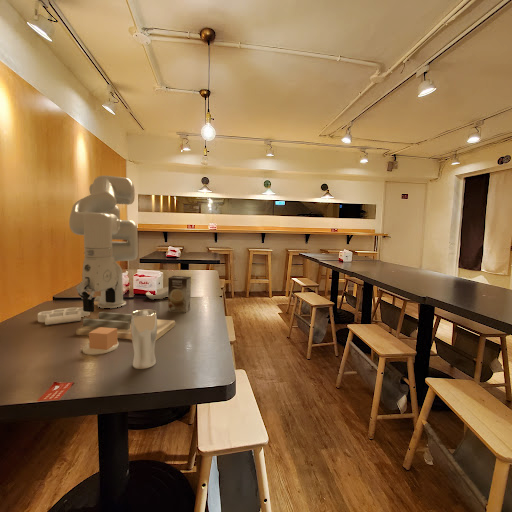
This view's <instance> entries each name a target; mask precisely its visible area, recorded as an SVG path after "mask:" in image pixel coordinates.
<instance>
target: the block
mask: <svg viewBox="0 0 512 512" xmlns="http://www.w3.org/2000/svg"><path fill="white" fill-rule="evenodd" d="M117 341H118V338H117V328H106V327H99V328H97V329H95V330H93V331H91V332H89V336H88V343H89V348H93V349H104V350H108V349H109V348H111V347H112V346H114V345H115V344H117Z"/></svg>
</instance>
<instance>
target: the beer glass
mask: <svg viewBox="0 0 512 512" xmlns="http://www.w3.org/2000/svg"><path fill="white" fill-rule="evenodd" d="M130 314H131V328H130V329H131V338H132V339H131V342H132V347H133V355H134V356H133V359H132V360H133V361H132V367H133V368H134V369H136V370H147V369H150V368H151V367H154V366H155V365H156V363H157V362H156V360H157V359H156V355H155V345H156V341H157V340H156V336H157V319H158V317H157V310H154V309H151V308H150V309H139V310H135V311H132V312H131V313H130Z"/></svg>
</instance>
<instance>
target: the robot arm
mask: <svg viewBox="0 0 512 512" xmlns="http://www.w3.org/2000/svg"><path fill="white" fill-rule="evenodd" d="M135 196H136V193H135V186H134V183H133V181H132V180H131V179H130V178H128V177H126V176H125V177H124V176H123V177H121V176H114V175H99V176H97V177H95V179H94V180H93V183H91V184H90V185H89V195H87V196H85V197H83V198H81V199H79V200H77V201H75V203H74V204H73V205H72V209H71V211H70V216H69V220H68V224H69V225H68V226H69V229H70V231H71V232H72V233H73V234H74V235H77V236H83V247H84V248H83V250H84V252H83V255H84V258H83V262H82V263H83V265H82V274H81V276H82V278H81V279H82V280H81V282H80V283H79V284H78V285H77V286H76V288H75V289H76V291H77V294H78V296H79V297H80V298H81V300H82V307H83V311H86V312H90V313H94V312H95V301H97V302H98V303H97V308H99V307H100V308H99V309H104V308H110V309H117V307H118V308H122V307H125V306H126V305H127V301H126V300H124V295H123V294H124V292H123V290H124V289H123V285H124V283H123V269H122V267H121V265H120V264H119V263H118V262H125V261H126V262H127V261H128V262H130V261H135V260H136V259H137V258H138V256H139V255H138V254H139V250H138V249H139V248H138V247H139V245H138V243H139V241H138V227H137V223H136V222H135V221H134V220H131V219H130V220H129V219H121V213H120V208H119V206H118V205H132V204H133V203H134V201H135ZM115 240H116V241H115ZM118 240H122V241H118ZM124 240H125V241H124ZM96 292H100V295H96V296H95V298H93V297H94V295H95V293H96ZM121 306H122V307H121Z"/></svg>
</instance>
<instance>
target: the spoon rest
mask: <svg viewBox="0 0 512 512" xmlns="http://www.w3.org/2000/svg"><path fill="white" fill-rule="evenodd" d="M156 290H157V293H156V295H153V294H151V293H150V292H149V291H147V292H146V293H145V295H146V297H148V298H149V299H150V300H154V299H160V300H163V298H164V299H165V298H166V297H168V286H165V287H162V288H158V289H156Z"/></svg>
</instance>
